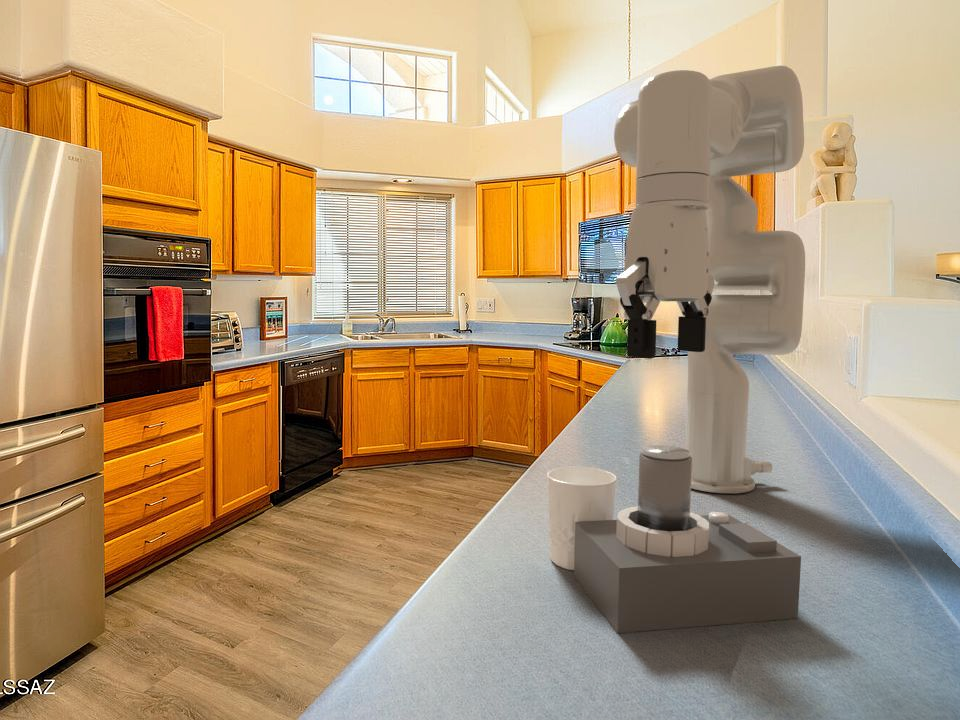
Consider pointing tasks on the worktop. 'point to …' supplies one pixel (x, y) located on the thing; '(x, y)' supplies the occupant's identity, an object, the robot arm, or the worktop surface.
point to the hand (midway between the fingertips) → (667, 354)
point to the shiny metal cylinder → (664, 488)
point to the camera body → (685, 573)
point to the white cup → (576, 506)
